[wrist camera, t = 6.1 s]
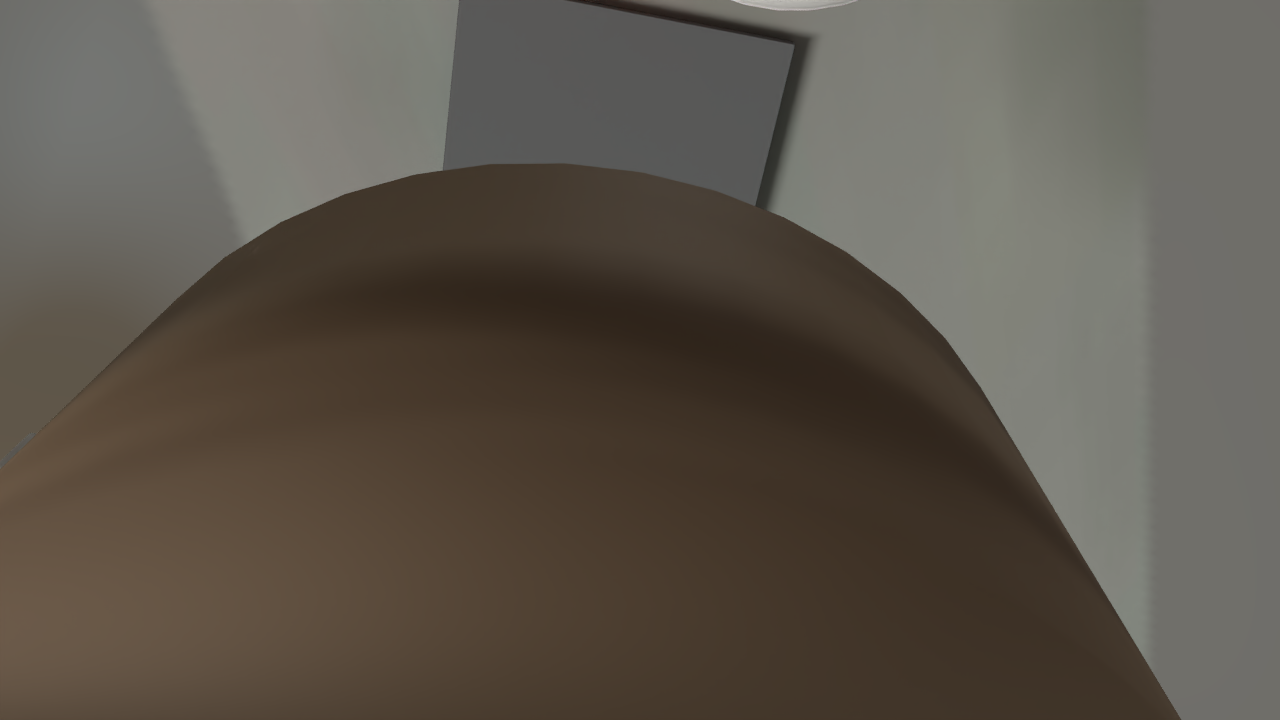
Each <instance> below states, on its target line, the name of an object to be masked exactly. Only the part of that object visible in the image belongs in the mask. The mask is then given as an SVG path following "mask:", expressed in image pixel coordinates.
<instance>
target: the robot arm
mask: <svg viewBox="0 0 1280 720" xmlns="http://www.w3.org/2000/svg"><path fill="white" fill-rule="evenodd" d="M35 435H36V434H35V433H30V434H29V435H27V436H26V437H25V438H24V439H23V440H22V441H21V442H20V443H19V444H18V445H17V446H16V447H15V448H14V449H13V450H12V451H11V452H10V453H8V454H7V455H6V456H5V457H4V458H3V459H2V460H1V461H0V469H1V468H2V467H3V466H4V465H5V464H6V463H7V462H8V461H9V460H10V459H11V458H12V457H13V456H14V455H15V454H16V453H17V452H18V451H20V450H21V449H22V448H23V447H24V446H25V445H26V444H27V443H28V442H29V441H30V440H31V439H32V438H33V437H34V436H35Z"/></svg>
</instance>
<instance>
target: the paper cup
mask: <svg viewBox="0 0 1280 720" xmlns="http://www.w3.org/2000/svg"><path fill="white" fill-rule="evenodd" d="M732 1H735V2H738V3H741V4H744V5H749V6H755V7H761V8H767V9H773V10H816V9H822V8H829V7H835V6H841V5H846V4H849V3H852V2H855V1H858V0H732Z"/></svg>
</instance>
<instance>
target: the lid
mask: <svg viewBox="0 0 1280 720" xmlns="http://www.w3.org/2000/svg"><path fill="white" fill-rule="evenodd" d="M0 720H1181V719H1180V717H1179V715H1178V714H1177V712H1176V710H1175V709H1174V707H1173V706H1172V704H1171V702H1170V701H1169V699H1168V697H1167V696H1166V694H1165V692H1164V691H1163V689H1162V687H1161V686H1160V684H1159V682H1158V681H1157V679H1156V677H1155V676H1154V674H1153V672H1152V671H1151V669H1150V667H1149V666H1148V664H1147V662H1146V661H1145V659H1144V657H1143V656H1142V654H1141V652H1140V651H1139V649H1138V647H1137V646H1136V644H1135V643H1134V641H1133V639H1132V638H1131V636H1130V634H1129V633H1128V631H1127V629H1126V628H1125V626H1124V624H1123V623H1122V621H1121V619H1120V618H1119V616H1118V614H1117V613H1116V611H1115V609H1114V608H1113V606H1112V604H1111V603H1110V601H1109V599H1108V598H1107V596H1106V594H1105V593H1104V591H1103V590H1102V588H1101V586H1100V585H1099V583H1098V581H1097V580H1096V578H1095V576H1094V575H1093V573H1092V571H1091V570H1090V568H1089V566H1088V565H1087V563H1086V561H1085V560H1084V558H1083V556H1082V555H1081V553H1080V551H1079V550H1078V548H1077V546H1076V545H1075V543H1074V541H1073V540H1072V538H1071V537H1070V535H1069V533H1068V532H1067V530H1066V528H1065V527H1064V525H1063V523H1062V522H1061V520H1060V518H1059V517H1058V515H1057V513H1056V512H1055V510H1054V508H1053V507H1052V505H1051V503H1050V502H1049V500H1048V498H1047V497H1046V495H1045V493H1044V492H1043V490H1042V488H1041V487H1040V485H1039V483H1038V482H1037V480H1036V479H1035V477H1034V475H1033V474H1032V472H1031V470H1030V469H1029V467H1028V465H1027V464H1026V462H1025V460H1024V459H1023V457H1022V455H1021V454H1020V452H1019V450H1018V449H1017V447H1016V445H1015V444H1014V442H1013V440H1012V439H1011V437H1010V435H1009V434H1008V432H1007V430H1006V429H1005V427H1004V426H1003V424H1002V422H1001V421H1000V419H999V417H998V416H997V414H996V412H995V411H994V409H993V407H992V406H991V404H990V402H989V401H988V399H987V397H986V396H985V394H984V392H983V391H982V389H981V387H980V386H979V385H978V383H977V382H976V380H975V379H974V378H973V376H972V375H971V373H970V372H969V371H968V369H967V368H966V367H965V365H964V364H963V362H962V361H961V360H960V358H959V357H958V355H957V354H956V353H955V351H954V350H953V348H952V347H951V346H950V344H949V343H948V342H947V340H946V339H945V338H944V337H943V336H942V335H941V334H940V333H939V332H938V331H937V330H936V329H935V328H934V327H933V325H932V324H931V323H930V322H929V321H928V320H927V319H926V318H925V317H924V316H923V315H922V314H921V313H920V312H919V311H918V310H917V309H916V308H915V307H914V306H913V305H912V304H911V303H910V302H909V301H908V300H907V299H906V298H905V297H904V296H903V295H902V294H901V293H900V292H898V291H897V290H896V289H895V288H893V287H892V286H891V285H889V284H888V283H887V282H885V281H884V280H883V279H881V278H880V277H879V276H877V275H876V274H875V273H873V272H872V271H871V270H869V269H868V268H867V267H865V266H864V265H863V264H861V263H860V262H859V261H857V260H856V259H855V258H854V257H852V256H851V255H850V254H848V253H847V252H845V251H843V250H842V249H840V248H838V247H836V246H834V245H833V244H831V243H829V242H827V241H825V240H824V239H822V238H820V237H818V236H816V235H815V234H813V233H811V232H809V231H807V230H806V229H804V228H802V227H800V226H798V225H797V224H795V223H793V222H791V221H790V220H788V219H786V218H784V217H781V216H779V215H776V214H774V213H771V212H769V211H766V210H764V209H761V208H758V207H756V206H753V205H751V204H748V203H746V202H743V201H741V200H738V199H736V198H733V197H731V196H728V195H725V194H723V193H720V192H718V191H715V190H711V189H707V188H703V187H699V186H695V185H691V184H687V183H683V182H679V181H675V180H671V179H667V178H663V177H659V176H655V175H651V174H647V173H643V172H635V171H627V170H618V169H610V168H601V167H593V166H584V165H576V164H567V163H554V164H487V165H480V166H473V167H466V168H459V169H452V170H444V171H437V172H430V173H423V174H416V175H412V176H408V177H405V178H401V179H398V180H394V181H391V182H387V183H383V184H380V185H376V186H373V187H369V188H366V189H362V190H358V191H355V192H351V193H348V194H344V195H342V196H340V197H338V198H335V199H333V200H331V201H328V202H326V203H324V204H322V205H319V206H317V207H315V208H312V209H310V210H308V211H306V212H303V213H301V214H299V215H296V216H294V217H292V218H290V219H287V220H285V221H283V222H280V223H279V224H277V225H276V226H274V227H273V228H271V229H269V230H268V231H266V232H265V233H263V234H261V235H260V236H258V237H257V238H255V239H253V240H252V241H250V242H249V243H247V244H245V245H244V246H242V247H241V248H239V249H237V250H236V251H235V252H233V253H231V254H229V255H228V256H227V257H225V258H223V259H222V260H221V261H220V262H219V263H218V264H217V265H215V266H214V267H213V268H212V269H211V270H210V271H208V272H207V273H206V274H205V275H204V276H203V277H202V278H201V279H199V280H198V281H197V282H196V283H195V284H194V285H192V286H191V287H190V288H189V289H188V290H187V291H186V292H184V293H183V294H182V295H181V296H180V297H179V298H177V299H176V300H175V301H174V302H173V303H172V304H171V305H170V306H169V307H168V308H167V309H166V310H165V311H164V312H163V313H162V314H161V315H160V316H159V317H158V318H157V319H156V320H155V321H154V322H152V323H151V324H150V325H149V326H148V327H147V328H146V329H145V330H144V331H143V332H142V333H141V334H140V335H139V336H138V337H137V338H136V339H135V340H134V341H133V342H132V343H131V344H130V345H129V346H128V347H127V348H125V350H123V351H122V352H121V353H120V354H119V355H118V356H117V357H116V358H115V359H114V360H113V361H112V362H111V363H110V364H109V365H108V366H107V367H106V368H105V369H104V370H103V371H102V372H101V373H100V374H98V375H97V376H96V378H94V379H93V380H92V381H91V382H90V383H89V384H88V385H87V386H86V387H85V388H84V389H83V390H82V391H81V392H80V393H79V394H78V395H77V396H76V397H75V398H74V399H72V400H71V402H69V403H68V404H67V405H66V406H65V407H64V408H63V409H62V410H61V411H60V412H59V413H58V414H57V415H56V416H55V417H54V418H53V419H52V420H51V421H50V422H49V423H48V424H47V425H45V426H44V427H43V428H42V430H40V431H39V432H38V433H37V434H36V435H35V436H34V437H33V438H32V439H31V440H30V441H29V442H28V443H27V444H26V445H25V446H24V447H23V448H22V449H21V450H20V451H18V452H17V453H16V454H15V455H14V456H13V457H12V458H11V459H10V460H9V461H8V462H7V463H6V464H5V465H4V466H3V467H2V468H1V469H0Z"/></svg>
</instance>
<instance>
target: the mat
mask: <svg viewBox="0 0 1280 720" xmlns="http://www.w3.org/2000/svg"><path fill="white" fill-rule="evenodd" d="M794 47H795V44H794V43H793V42H792V41H787V40H782V39H777V38H772V37H766V36H761V35H756V34H751V33H746V32H741V31H736V30H730V29H725V28H720V27H715V26H710V25H705V24H700V23H694V22H689V21H684V20H679V19H674V18H669V17H664V16H658V15H653V14H648V13H643V12H638V11H633V10H628V9H622V8H617V7H612V6H607V5H602V4H597V3H592V2H587V1H581V0H459V8H458V18H457V29H456V39H455V50H454V60H453V70H452V81H451V91H450V101H449V112H448V122H447V133H446V143H445V153H444V164H443V171H444V170H452V169H459V168H466V167H473V166H480V165H487V164H554V163H567V164H576V165H584V166H593V167H601V168H610V169H618V170H627V171H635V172H643V173H647V174H651V175H655V176H659V177H663V178H667V179H671V180H675V181H679V182H683V183H687V184H691V185H695V186H699V187H703V188H707V189H711V190H715V191H718V192H720V193H723V194H725V195H728V196H731V197H733V198H736V199H738V200H741V201H743V202H746V203H748V204H751V205H753V206H755V205H756V201H757V197H758V193H759V189H760V185H761V181H762V176H763V172H764V168H765V164H766V160H767V156H768V152H769V148H770V144H771V140H772V136H773V132H774V128H775V124H776V120H777V116H778V112H779V108H780V104H781V100H782V95H783V91H784V87H785V83H786V79H787V75H788V71H789V67H790V63H791V59H792V55H793V51H794Z"/></svg>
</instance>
